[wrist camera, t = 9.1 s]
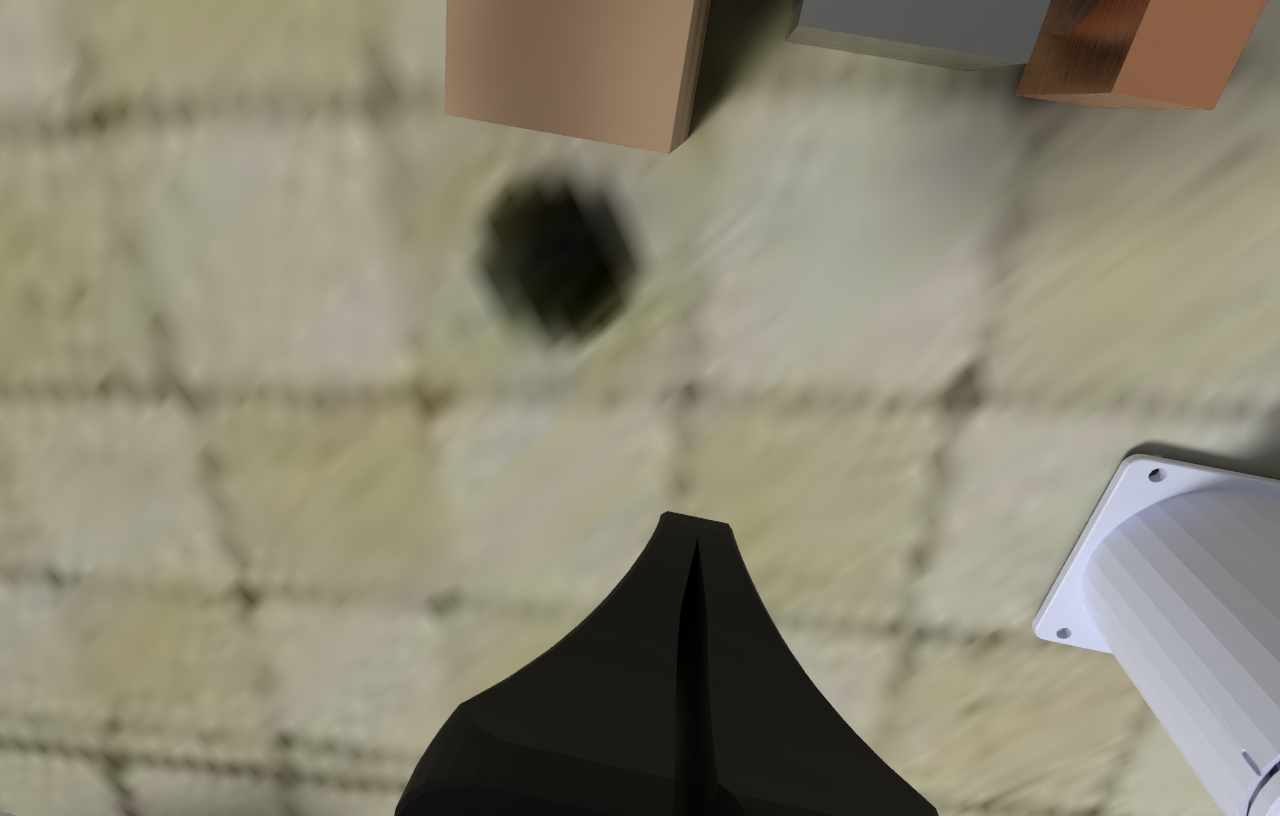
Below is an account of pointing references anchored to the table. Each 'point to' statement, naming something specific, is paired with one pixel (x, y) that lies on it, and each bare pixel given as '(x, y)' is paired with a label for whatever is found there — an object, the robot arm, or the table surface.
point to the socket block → (578, 67)
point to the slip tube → (1138, 52)
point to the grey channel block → (924, 29)
